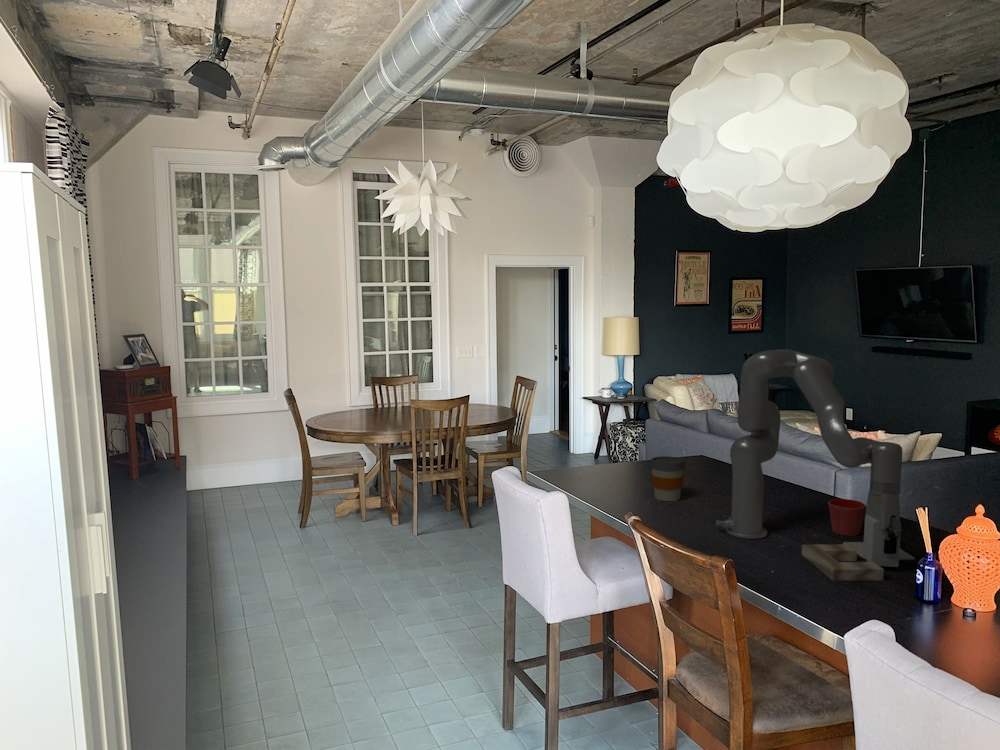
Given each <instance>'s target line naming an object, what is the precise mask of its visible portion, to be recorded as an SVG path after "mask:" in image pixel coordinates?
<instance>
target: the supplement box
mask: <svg viewBox="0 0 1000 750" xmlns="http://www.w3.org/2000/svg"><path fill="white" fill-rule="evenodd" d="M864 515H865V516H864V530H863V542H864V548H863V557H864V558H865V559H866V560H865V559H864V558H863V559H864V560H865V561H866V562H874V563H875V564H877V565H878V566H880V567H890V568H893V567H894V568H899V565H900V560H899V551H900V549H901V548H900V547H901V533H900V534H899V537H898V540H897V549H896V554H885V553H884V539H886V536H885V531H884V530H885V529H884V530H880V529H879V521H877V520H875V519H874V518H871V517H870V516H868V515H866V514H864ZM899 525H900V527H901V528H902V522H901V521H900V523H899ZM888 528H893V526H892V524H891V522H890V524H889V526H888ZM892 532H893V531H889V535H890V534H891V533H892Z"/></svg>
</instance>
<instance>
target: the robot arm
mask: <svg viewBox="0 0 1000 750" xmlns="http://www.w3.org/2000/svg"><path fill="white" fill-rule="evenodd" d="M780 377H781V378H782V377H788V378H793V379H794V381H795V383H796V385H797V386H798V387H799V389H800V391H801V393H802V394H803V395H804V397H805V399H806V401H808V404H809V406H810V407H811V408H812V410H813V411H814V413H815V415H816V416H817V417H816V418H817V424H818V428H819V432H820V435H821V438H822V440H823V442H824V444H825V446H826V447H827V449H828V450H829V452H830V454H831V456H833V458H834V459H835V460H836V462H837V463H838V464H840V465H841V466H842V467H844V468H849V469H851V468H856V467H860V466H862V465H866V464H867V465H868V464H870V475H869V476H870V479H869V490H868V494H867V500H866V504H865V505H866V508H865V515H868V516H870V517H871V518H874V519H875V520H877V521H879V529H880V530H884V529H885V530H884V531H885V536H886V539H884V553H885V554H896V549H897V540H898V537H899V534H900V535H901V532H902V530H903V529H902V526H901V527H900V525H899V523H900V522H901V503H900V495H901V486H902V485H901V483H902V482H901V481H902V470H903V469H902V467H903V447H902V446H901V445H900V444H899V443H897V442H891V441H879V440H875V439H872V438H869V437H861V436H860V437H859V436H858V437H855V438H853V437H852V436H851V434H850V432H849V430H848V429H847V426H846V423H845V420H844V409H845V400H844V398H843V397H842V395H841V393H840V391H838V389H837V388H836V386H835V384H834V383H833V380H834V378H835V369H834V366H833V365H832V363H831V362H829V360H827V359H825V358H822V357H818V356H814V355H811V354H808V353H804V352H801V351H797V350H792V349H788V348H785V349H783V348H781V349H769V350H764V351H760V352H757V353H755V354H753V355H751V356H749V357H748V358H746V360H745V362H744V363H743V365H742V368H741V371H740V388H739V389H740V390H739V398H738V407H737V408H738V409H737V418H736V419H737V424H738V426H739V429H741V430H742V431H744V432H746V433H750V434H748V435H744V436H741V437H739V438H737V439H736V440H735V441H733V443H732V445H730V446H731V447H730V451H729V452H730V453H729V456H730V462H731V470H732V473H731V474H732V475H731V478H732V479H731V480H732V481H731V515H730V516H728V518H727V519H725V520H723V519H722V520H721V519H719V520H718V519H717V520H715V525H716V527H722V528H723V529H725V532H726V533H727V534H728V535H730V536H732V537H736V538H740V539H748V540H749V539H750V540H754V539H755V540H756V539H762V538H765V537H767V536H768V530H767V529H766V528H765V527H763V517H764V516H763V513H764V511H763V510H764V487H765V486H764V485H765V484H764V483H765V482H764V479H765V478H764V473H763V472H764V471H763V468H762V463H765V462H768V461H770V460H772V459H773V458H774V457H775V456H776V454H777V451H778V448H779V443H780V442H779V441H780V430H781V419H782V418H781V411H780V410H779V407H778V406H777V404H776V403H774V402H773V401H771V400H769V392H770V390H769V385H768V384H769V383H768V380H769V379H771V378H780ZM890 522H891V524H892V526H893V528H888V526H889V524H890ZM889 531H893V532H892V533H891V534H890V535H889Z"/></svg>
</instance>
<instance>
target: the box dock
mask: <svg viewBox="0 0 1000 750" xmlns="http://www.w3.org/2000/svg"><path fill="white" fill-rule="evenodd" d="M801 555H802V556H803V557H804V558H805V559H806V560H808V561H809V562H810V563H811V564H812V565H813V566H815V567H816V568H817V569H818V570H819V571H821V572H822V573H823V574H824V575H826V576H827V577H828V578H829V579H830V580H831V581H833V582H834V581H884V576H885V575H884V573H885V569H884V568H883V567H882V566H878V565H877V564H875V563H874V562H868V561H858V559H857V558H858V554H857V550H855V549H854V548H852V547H851V546H850V545H848V544H843V543H842V544H840V543H839V544H835V543H834V544H831V543H830V544H801Z"/></svg>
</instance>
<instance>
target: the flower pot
mask: <svg viewBox="0 0 1000 750" xmlns="http://www.w3.org/2000/svg"><path fill="white" fill-rule="evenodd" d="M827 503H828V511H829V517H830V523H831V529H832V532H833V533H834V532H835V533H834V534H836V533H837V535H839V534H840V535H839V536H845V535H846V536H845V537H856V535H857V536H859V535H860V533H861V530H862V529H861V528H862V524H863V522H864V518H865V516H864V515H865V514H866V505H867V504H865V503H864V502H862V501H859V500H854V499H848V498H835V499H830V500H828V502H827Z"/></svg>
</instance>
